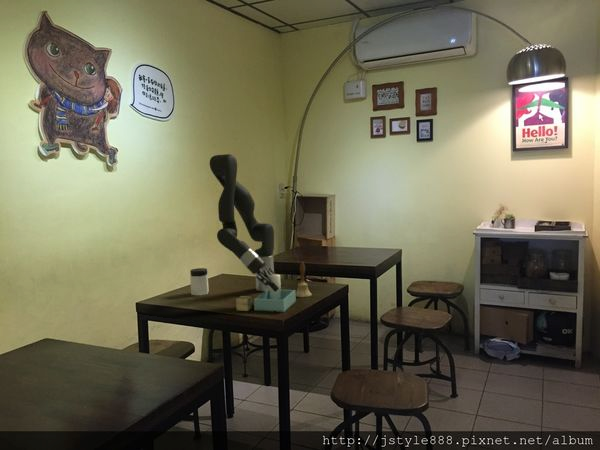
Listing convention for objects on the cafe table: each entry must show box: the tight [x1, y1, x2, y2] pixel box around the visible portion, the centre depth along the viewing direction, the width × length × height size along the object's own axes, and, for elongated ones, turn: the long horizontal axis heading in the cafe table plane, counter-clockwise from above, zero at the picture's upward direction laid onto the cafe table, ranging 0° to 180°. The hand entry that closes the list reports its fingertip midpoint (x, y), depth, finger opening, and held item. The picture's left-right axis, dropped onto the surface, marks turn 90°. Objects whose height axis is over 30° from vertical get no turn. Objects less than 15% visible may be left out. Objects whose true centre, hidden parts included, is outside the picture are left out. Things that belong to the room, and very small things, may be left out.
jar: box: [189, 267, 210, 296], centre depth 234 cm, size 9×8×12 cm
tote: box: [253, 289, 297, 313], centre depth 206 cm, size 17×13×5 cm
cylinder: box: [269, 273, 282, 299], centre depth 209 cm, size 5×5×10 cm
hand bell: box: [295, 261, 313, 298], centre depth 222 cm, size 8×8×16 cm
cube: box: [235, 295, 253, 312], centre depth 203 cm, size 5×5×5 cm
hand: (279, 288), depth 209 cm, fingers closed on cylinder, 5 cm apart
